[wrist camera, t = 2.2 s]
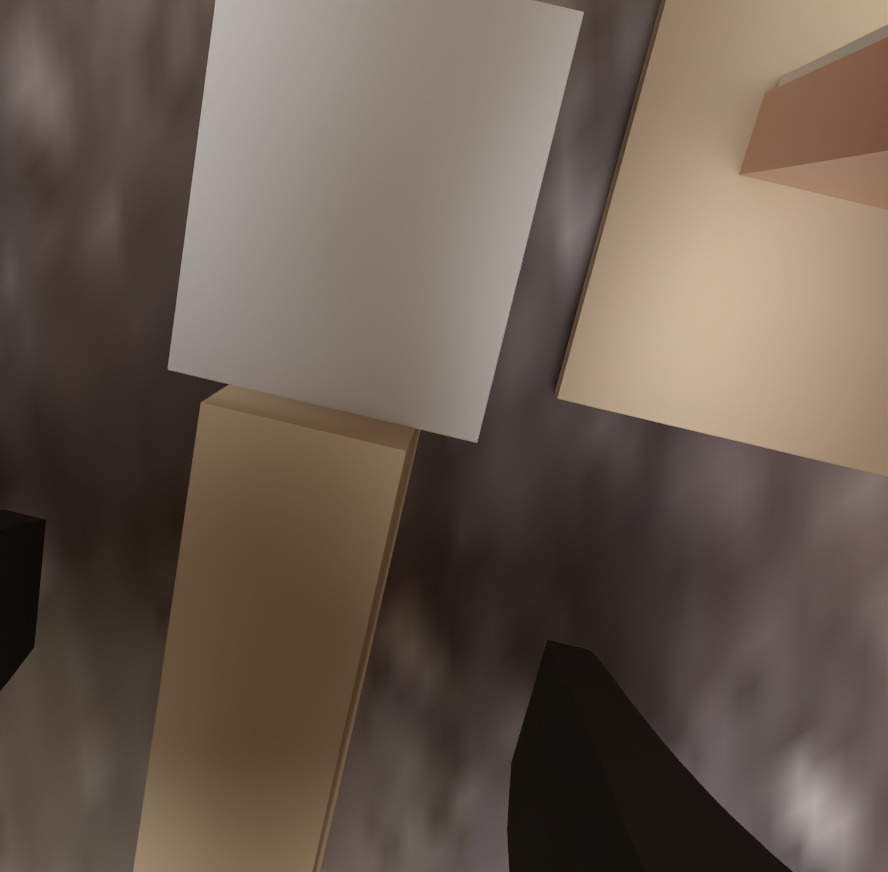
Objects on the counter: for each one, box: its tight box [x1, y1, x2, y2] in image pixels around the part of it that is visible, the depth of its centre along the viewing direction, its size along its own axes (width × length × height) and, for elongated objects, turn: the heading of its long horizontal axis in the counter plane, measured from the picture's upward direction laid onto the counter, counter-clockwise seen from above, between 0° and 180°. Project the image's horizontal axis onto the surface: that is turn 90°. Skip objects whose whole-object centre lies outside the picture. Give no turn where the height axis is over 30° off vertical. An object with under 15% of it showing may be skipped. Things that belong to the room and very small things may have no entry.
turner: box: [133, 0, 584, 872], centre depth 11 cm, size 4×14×3 cm, turn 167°
